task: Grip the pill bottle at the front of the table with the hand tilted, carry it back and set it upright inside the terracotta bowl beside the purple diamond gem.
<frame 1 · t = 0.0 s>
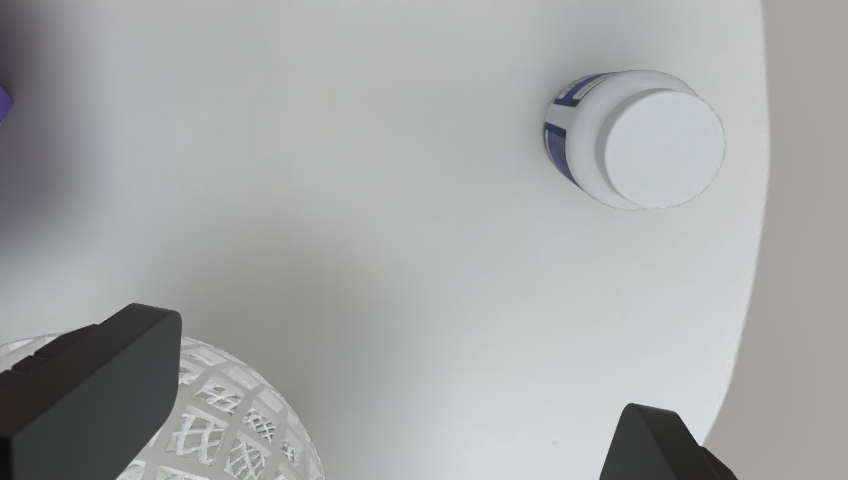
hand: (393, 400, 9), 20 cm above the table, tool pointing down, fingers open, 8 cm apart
heart: (281, 434, 34), on the table
pill bottle: (593, 128, 27), on the table
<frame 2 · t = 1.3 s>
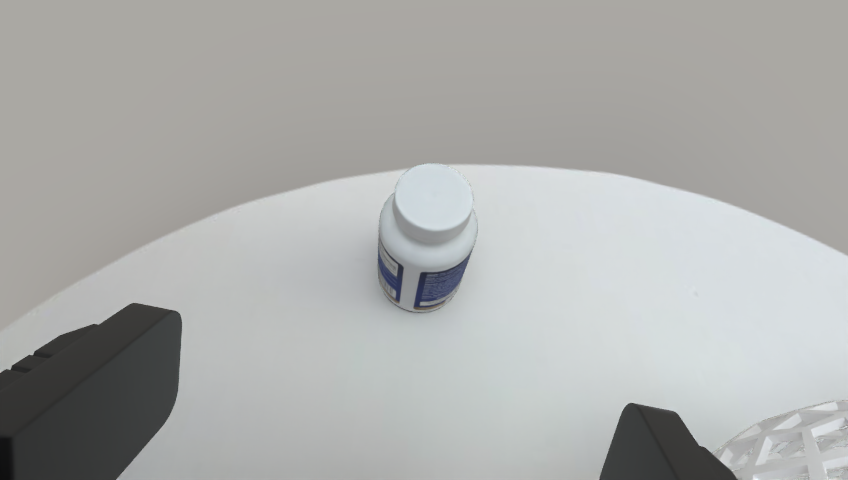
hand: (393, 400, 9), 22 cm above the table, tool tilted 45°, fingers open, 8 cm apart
pill bottle: (418, 276, 35), on the table
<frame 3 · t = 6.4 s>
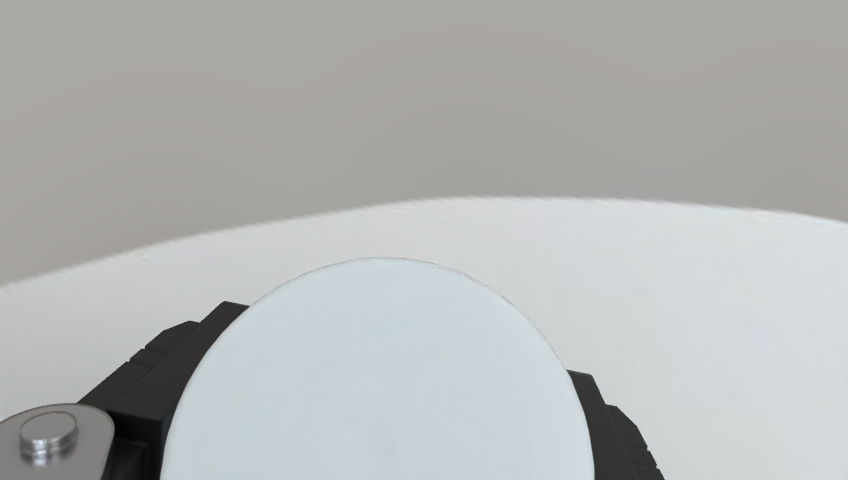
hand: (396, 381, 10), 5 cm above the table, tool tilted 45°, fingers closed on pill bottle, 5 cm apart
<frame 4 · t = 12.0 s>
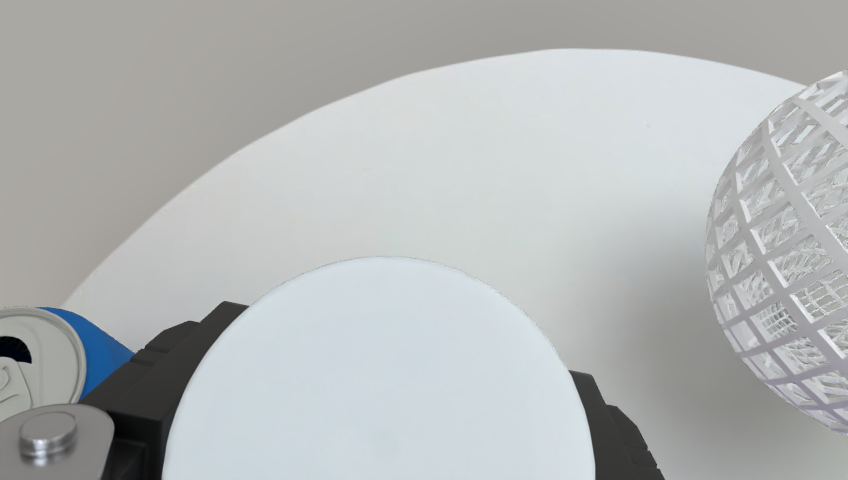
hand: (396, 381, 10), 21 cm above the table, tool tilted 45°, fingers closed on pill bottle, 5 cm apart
heart: (776, 321, 35), on the table
beverage can: (134, 434, 29), on the table
when the fingers open (6 cm above the table, at t = 18.1 s): pill bottle stays where it is, resting on bowl.
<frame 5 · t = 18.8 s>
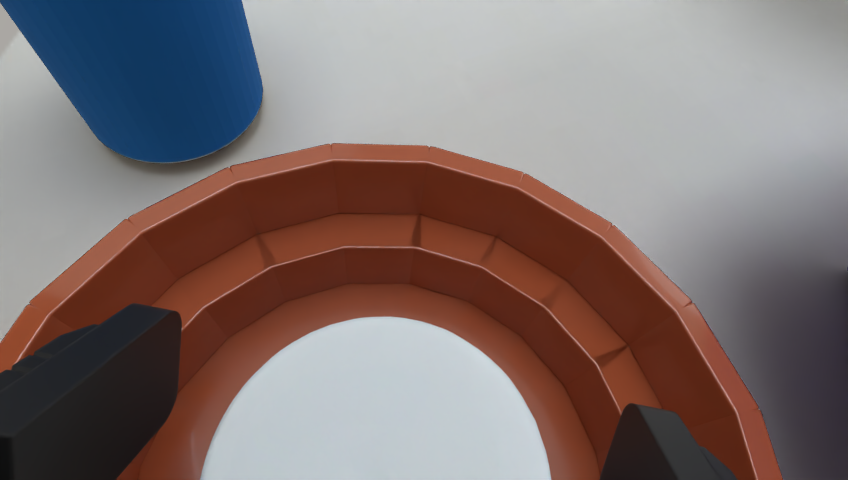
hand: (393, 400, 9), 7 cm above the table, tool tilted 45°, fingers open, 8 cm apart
beverage can: (184, 112, 21), on the table
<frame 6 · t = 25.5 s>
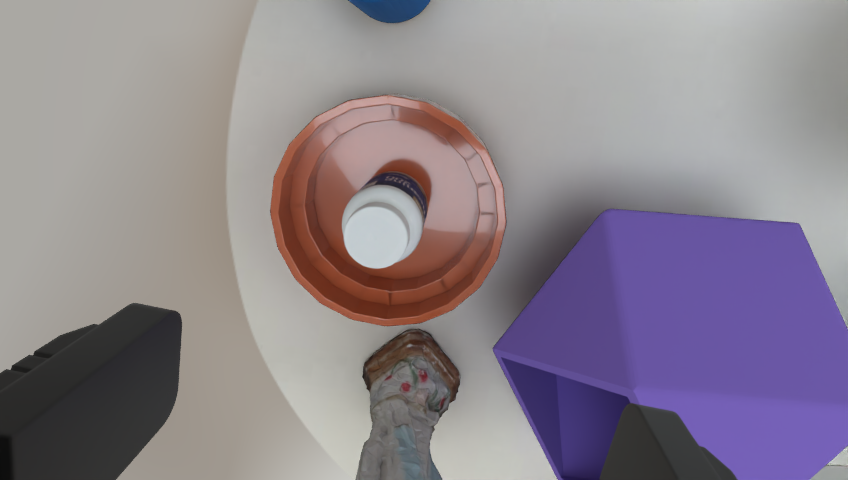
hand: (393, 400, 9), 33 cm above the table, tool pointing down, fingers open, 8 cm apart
statue: (412, 372, 47), on the table
bowl: (396, 200, 42), on the table
pill bottle: (394, 203, 42), point 1 cm above the table, touching bowl
purple diamond gem: (624, 304, 44), on the table
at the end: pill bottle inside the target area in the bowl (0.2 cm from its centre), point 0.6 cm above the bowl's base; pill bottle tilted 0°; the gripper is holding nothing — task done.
